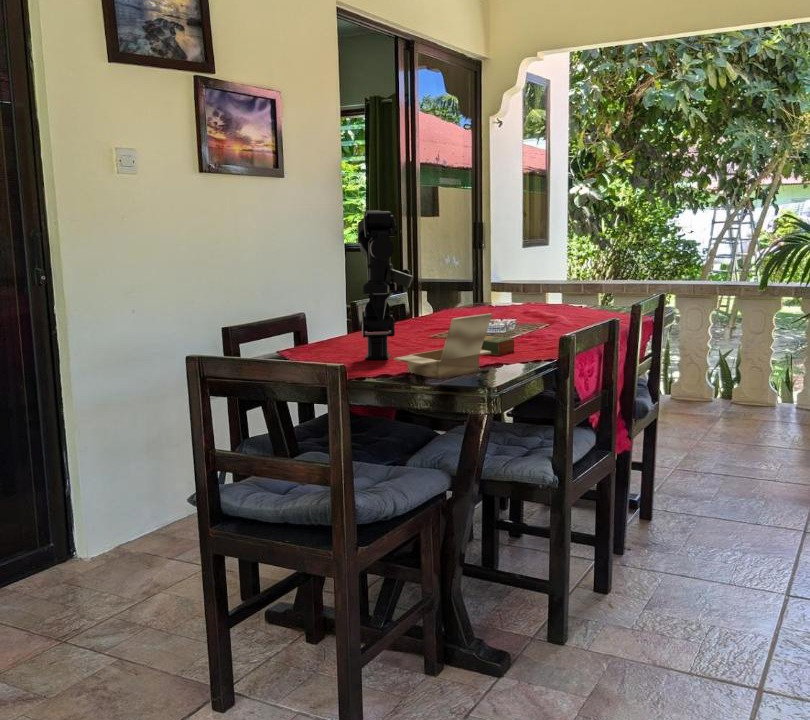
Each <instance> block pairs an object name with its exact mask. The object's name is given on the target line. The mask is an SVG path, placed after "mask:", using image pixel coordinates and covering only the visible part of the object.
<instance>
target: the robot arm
mask: <svg viewBox="0 0 810 720" xmlns="http://www.w3.org/2000/svg"><path fill="white" fill-rule="evenodd" d="M363 212H364V213H363V217H362V218H361V220H360V221H359V222H358V223H357V244H358V245H359V247H360V249H359V250H360V253H362V255H363V256H364V257H365V258H366V271H367V273H366V274H367V275H366V276H367V282H366V283H365V284H363V286H362V293H363V295H367V297H368V302H367V303H366V305H365V308H364V313H363V315H362V316H361V335H362V338H367V354H366V355H365V356H364V357H365V358H364V359H365V360H389V358H390V356H391V353H389V349H388V347H389V346H388V339H389V338H388V337H391V338H392V337H394V336H395V334H396V333H395V327H396V320H395V318H394V317H393V314H391V308H390V304H389V303H388V300H389V299H390V297H391V296H392V295H394V291H397V285H400V286H402V287H404V288H406V289H409V288H410V287H411V284H412V281H413V278H414V275H411V272H410V270H409V269H406V268H403V269H402V270H401V271H399V270H396V269H394V265H393V263H391V262H392V261H391V260H392V259H391V258H392V256H393V254H394V252H395V247H394V243H393V241H392V240H391V239H390V237H391V238H392V237H393V238H394V237H396V235H397V234H398V228H397V221H396V219H395V216H394V215H393V214H392V213H391V211H390V210H380V209H374V210H373V209H370V210H369V209H368V210H366V211H363ZM390 291H393V292H390Z"/></svg>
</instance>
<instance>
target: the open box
mask: <svg viewBox="0 0 810 720" xmlns="http://www.w3.org/2000/svg"><path fill="white" fill-rule="evenodd" d="M442 352H443V348H440V349H435V350H430V351H429V350H428V351H423V352H418V353H417V352H416V353H411V354H407V355H403V356H397V357H393V361H398V362H402V363H407V366H406V367H407V373H409V372H411V373H410V374H413V373H414V374H413V375H419V376H423V377H428V378H432V379H436V380H441V379H446V378H452V377H457V376H462V375H467V374H472V373H477V372H480V356H483V355H491V354H490V353H491V351H487V350H481V351H480V354H477V355H472V356H466V357H460V358H455V359H449V360H444V361H441V360H440V358H441V355H442Z"/></svg>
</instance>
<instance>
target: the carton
mask: <svg viewBox="0 0 810 720" xmlns="http://www.w3.org/2000/svg"><path fill="white" fill-rule="evenodd" d="M481 350H487V351H491V353H490V354H489V355H491V354H492V355H493V356H502V355H505V353H506V354H509V353H508V352H510V353H513V352H514V351H515V339H514V338H506V337H501V336H500V337H499V336H498V337H497V336H493V335H492V336H491V335H485V338H484V341H483V345H482V348H481ZM512 351H513V352H512ZM501 354H502V355H501Z"/></svg>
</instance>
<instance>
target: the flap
mask: <svg viewBox="0 0 810 720" xmlns="http://www.w3.org/2000/svg"><path fill="white" fill-rule="evenodd" d="M492 316H493V313H489V312H488V313H483V314H482V313H481V314H475V315H474V314H473V315H467V316H462V317H454V318H451V322H450V324H449V325H450V326H449V327H448V328H449V329H448V332H447V335H446V338H445V342H444V346H443V348H442V349H443V352H442V355H441V358H440V360H441V361H444V360H449V359H455V358H460V357H466V356H472V355H477V354H480V351H481V348H482V345H483V341H484V338H485V336H487V332H488V329H489V326H490V323H491V319H492Z"/></svg>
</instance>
